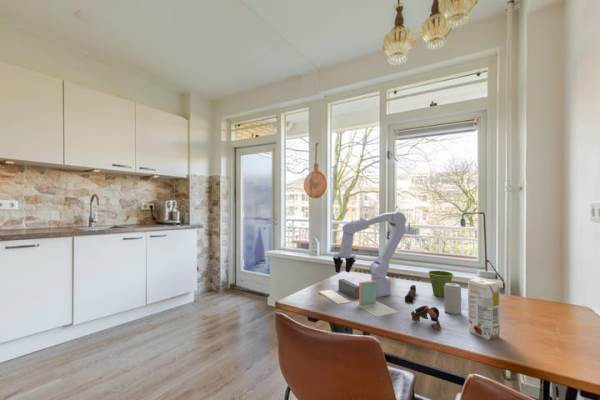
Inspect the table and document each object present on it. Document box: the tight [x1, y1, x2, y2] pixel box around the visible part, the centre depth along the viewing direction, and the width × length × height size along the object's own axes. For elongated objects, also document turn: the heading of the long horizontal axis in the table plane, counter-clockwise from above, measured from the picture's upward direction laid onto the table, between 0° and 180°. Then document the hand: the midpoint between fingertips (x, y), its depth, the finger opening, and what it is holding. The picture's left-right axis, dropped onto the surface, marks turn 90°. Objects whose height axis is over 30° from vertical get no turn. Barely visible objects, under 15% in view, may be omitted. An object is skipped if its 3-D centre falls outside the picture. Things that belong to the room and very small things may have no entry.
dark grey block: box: [338, 278, 359, 299], centre depth 145 cm, size 3×16×6 cm, turn 23°
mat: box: [355, 300, 399, 317], centre depth 125 cm, size 12×16×1 cm
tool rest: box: [318, 289, 352, 305], centre depth 139 cm, size 7×20×1 cm, turn 23°
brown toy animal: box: [410, 305, 442, 332], centre depth 108 cm, size 12×10×8 cm
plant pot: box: [427, 270, 454, 298], centre depth 144 cm, size 12×12×11 cm
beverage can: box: [443, 282, 462, 315], centre depth 121 cm, size 6×6×12 cm
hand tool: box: [404, 284, 417, 304], centre depth 140 cm, size 19×4×5 cm, turn 149°
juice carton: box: [467, 277, 501, 341], centre depth 100 cm, size 8×9×19 cm
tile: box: [358, 280, 377, 305], centre depth 130 cm, size 8×2×10 cm, turn 112°
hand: (342, 272), depth 144 cm, fingers open, 7 cm apart
